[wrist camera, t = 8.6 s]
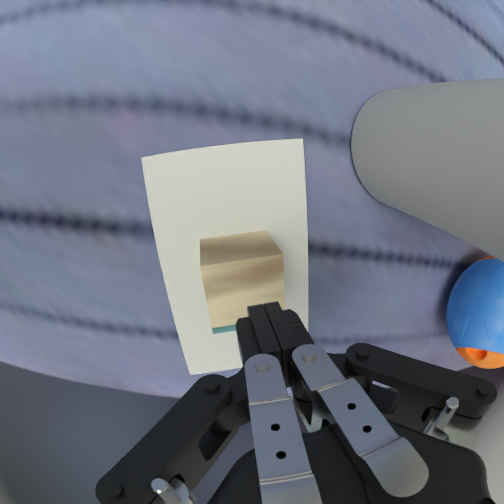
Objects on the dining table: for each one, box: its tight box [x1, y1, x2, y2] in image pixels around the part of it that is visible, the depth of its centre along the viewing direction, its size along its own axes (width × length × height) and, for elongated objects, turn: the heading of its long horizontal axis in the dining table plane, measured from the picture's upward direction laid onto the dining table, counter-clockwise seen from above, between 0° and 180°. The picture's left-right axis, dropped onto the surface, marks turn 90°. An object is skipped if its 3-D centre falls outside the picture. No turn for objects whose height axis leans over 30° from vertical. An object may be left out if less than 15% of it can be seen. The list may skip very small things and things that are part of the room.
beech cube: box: [200, 230, 286, 334], centre depth 25 cm, size 6×6×6 cm
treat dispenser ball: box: [447, 256, 504, 368], centre depth 29 cm, size 16×15×15 cm
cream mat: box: [141, 139, 308, 375], centre depth 28 cm, size 24×14×1 cm, turn 5°
